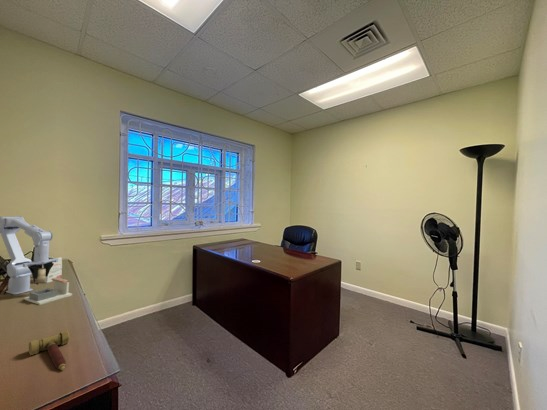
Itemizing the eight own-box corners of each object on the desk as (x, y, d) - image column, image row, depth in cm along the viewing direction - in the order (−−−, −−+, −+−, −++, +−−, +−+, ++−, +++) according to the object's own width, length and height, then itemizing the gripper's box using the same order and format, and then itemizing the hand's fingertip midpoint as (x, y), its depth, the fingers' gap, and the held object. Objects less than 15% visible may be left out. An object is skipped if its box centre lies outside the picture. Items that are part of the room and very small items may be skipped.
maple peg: (33, 282, 129) (34, 269, 129) (43, 280, 132) (43, 267, 132) (37, 283, 127) (38, 270, 127) (46, 281, 131) (47, 268, 131)
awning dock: (24, 299, 122) (25, 283, 122) (56, 291, 135) (57, 276, 135) (39, 304, 117) (40, 287, 117) (72, 295, 130) (72, 280, 130)
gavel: (83, 354, 77) (41, 370, 69) (82, 367, 77) (40, 385, 69) (66, 328, 89) (28, 339, 81) (65, 339, 89) (28, 352, 81)
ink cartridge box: (55, 278, 157) (56, 256, 157) (61, 279, 156) (62, 257, 156) (40, 282, 148) (42, 259, 148) (46, 283, 147) (48, 259, 147)
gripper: (28, 256, 122) (27, 282, 121) (61, 251, 135) (60, 275, 135) (20, 254, 124) (19, 280, 124) (54, 250, 138) (53, 273, 137)
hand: (40, 277), depth 130 cm, fingers closed on maple peg, 4 cm apart
